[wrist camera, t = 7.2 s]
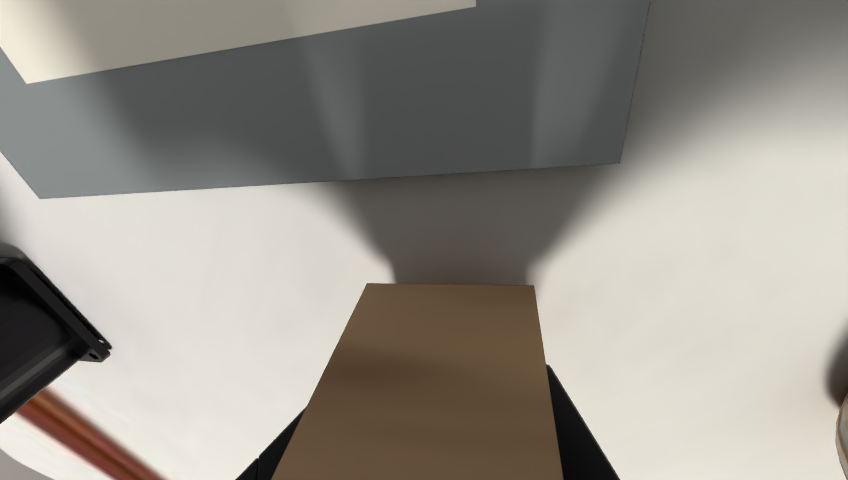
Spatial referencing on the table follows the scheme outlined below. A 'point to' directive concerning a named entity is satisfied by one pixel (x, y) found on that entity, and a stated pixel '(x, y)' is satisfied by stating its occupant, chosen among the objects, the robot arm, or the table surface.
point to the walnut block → (432, 391)
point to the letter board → (308, 89)
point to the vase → (843, 436)
